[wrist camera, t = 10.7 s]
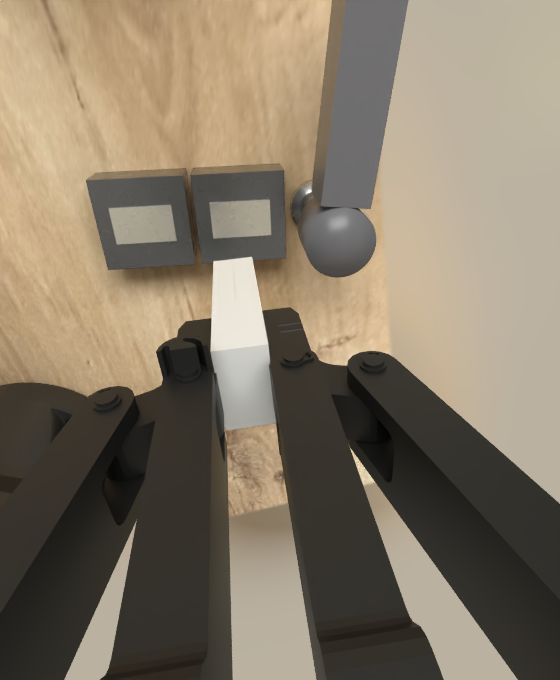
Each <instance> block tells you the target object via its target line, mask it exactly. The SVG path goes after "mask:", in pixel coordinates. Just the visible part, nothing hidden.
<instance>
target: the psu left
mask: <svg viewBox="0 0 560 680" xmlns="http://www.w3.org/2000/svg"><path fill="white" fill-rule="evenodd" d="M86 183H87V187H88V191H89V195H90V199H91V203H92V207H93V211H94V215H95V219H96V223H97V227H98V231H99V235H100V239H101V243H102V247H103V251H104V255H105V259H106V263H107V267H108V270H115V269H130V268H146V267H161V266H176V265H191V264H195V261H196V255H197V249H196V241H195V234H194V226H193V219H192V211H191V204H190V197H189V189H188V182H187V174H186V168H182V169H162V170H142V171H122V172H102V173H95V174H94V175H92V176H91V177H90V178H88V179H87V180H86Z"/></svg>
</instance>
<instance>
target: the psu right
mask: <svg viewBox="0 0 560 680" xmlns="http://www.w3.org/2000/svg"><path fill="white" fill-rule="evenodd" d="M190 176H191V184H192V191H193V199H194V207H195V214H196V222H197V230H198V237H199V245H200V253H201V260H202V264H206V263H213V261H221V260H229V259H238V258H246V257H252V259H253V260H267V259H282V258H286V239H285V198H284V170H283V168H282V166H281V165H280V164H262V165H242V166H222V167H202V168H193V169H192V172H191V175H190Z"/></svg>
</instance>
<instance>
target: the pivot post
mask: <svg viewBox="0 0 560 680" xmlns="http://www.w3.org/2000/svg"><path fill="white" fill-rule="evenodd" d="M312 181H313V180H311V181H307V182H305V183H303V184H302V185H301V186H299V187H298V188H297V190H296V191H295V193H294V194H293V197H292V200H291V213H292V216H293V218H294V220H295V222H296V223H297V224H298V220H299V217H300V214H301V212H302V210H303V209H304V207H305V206H306V205H307V204H308V203H309V202H310V201H311V200H313V199H314V196H313V195H312V193H311V190H312Z"/></svg>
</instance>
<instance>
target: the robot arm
mask: <svg viewBox="0 0 560 680" xmlns="http://www.w3.org/2000/svg"><path fill="white" fill-rule="evenodd" d="M156 353H157V357H158V361H159V365H160V368H161V372H162V376H163V381H162V385H161V386H159V387H158V388H156V389H154V390H151V391H149V392H146V393H143V394H140V395H137V396H134V394H133V391H132V390H130V389H129V388H127V387H121V386H115V387H108V388H105V389H101V390H99V391H97V392H95V393H93V394H92V395H90V396H89V397H88V398H87V397H86V396H83V395H81V394H79V393H77V392H74V391H72V390H69V389H66V388H62V387H58V386H54V385H48V384H41V383H14V384H7V385H2V386H0V680H64V679H65V677H66V674H67V672H68V670H69V668H70V666H71V663H72V661H73V659H74V657H75V655H76V652H77V650H78V648H79V646H80V643H81V641H82V639H83V637H84V634H85V632H86V630H87V628H88V626H89V624H90V621H91V619H92V617H93V615H94V612H95V610H96V608H97V606H98V604H99V602H100V599H101V597H102V595H103V593H104V591H105V588H106V586H107V584H108V582H109V580H110V577H111V575H112V573H113V570H114V568H115V566H116V564H117V562H118V560H119V557H120V555H121V553H122V551H123V549H124V546H125V544H126V542H127V540H128V538H129V535H130V533H131V531H132V529H133V526H134V524H135V522H136V520H137V523H136V528H135V533H134V538H133V544H132V549H131V555H130V560H129V565H128V571H127V577H126V582H125V587H124V592H123V598H122V603H121V609H120V614H119V620H118V625H117V631H116V636H115V641H114V647H113V652H112V657H111V661H110V665H109V669H108V671H107V673H106V675H105V676H104V677H103V678H101V679H100V680H232V638H231V597H230V557H229V556H230V555H229V513H228V472H227V442H226V437H225V432H224V424H225V430H226V431H227V430H234V429H241V428H248V427H255V426H262V425H269V424H276V425H277V434H278V443H279V452H280V455H281V460H282V466H283V472H284V479H285V485H286V491H287V497H288V504H289V509H290V516H291V522H292V529H293V535H294V541H295V547H296V554H297V560H298V566H299V572H300V578H301V585H302V591H303V597H304V603H305V609H306V616H307V622H308V628H309V635H310V641H311V647H312V653H313V660H314V666H315V672H316V679H317V680H444V679H443V677H442V674H441V671H440V669H439V666H438V663H437V661H436V658H435V655H434V653H433V651H432V648H431V646H430V643H429V641H428V639H427V636H426V635H425V633H424V632H423V630H422V629H421V627H420V626H419V625H417V624H416V623H414V622H413V621H412V620H411V618H410V616H409V614H408V612H407V609H406V607H405V604H404V601H403V598H402V595H401V592H400V589H399V587H398V584H397V581H396V578H395V575H394V572H393V569H392V567H391V564H390V561H389V558H388V555H387V552H386V550H385V547H384V544H383V541H382V538H381V535H380V532H379V530H378V527H377V524H376V521H375V518H374V516H373V513H372V510H371V507H370V504H369V501H368V498H367V495H366V493H365V490H364V487H363V484H362V481H361V478H360V476H359V473H358V470H357V467H356V464H355V461H354V458H353V456H352V453H351V450H350V448H351V449H352V450H353V452H354V453H355V455H356V456H357V457H358V459H359V460H360V462H361V463H362V464H363V466H364V467H365V468H366V470H367V471H368V473H369V474H370V475H371V477H372V478H373V480H374V481H375V482H376V484H377V485H378V486H379V488H380V489H381V491H382V492H383V493H384V495H385V496H386V498H387V499H388V500H389V502H390V503H391V504H392V506H393V507H394V509H395V510H396V511H397V513H398V514H399V516H400V517H401V518H402V520H403V521H404V522H405V524H406V525H407V527H408V528H409V529H410V531H411V532H412V534H413V535H414V536H415V538H416V539H417V540H418V542H419V543H420V544H421V546H422V547H423V549H424V550H425V552H426V553H427V554H428V556H429V557H430V558H431V560H432V561H433V563H434V564H435V565H436V567H437V568H438V569H439V571H440V572H441V574H442V575H443V576H444V578H445V579H446V581H447V582H448V583H449V585H450V586H451V587H452V589H453V590H454V592H455V593H456V594H457V596H458V597H459V599H460V600H461V601H462V603H463V604H464V606H465V607H466V608H467V610H468V611H469V612H470V614H471V615H472V617H473V618H474V619H475V621H476V622H477V623H478V625H479V626H480V628H481V629H482V630H483V632H484V633H485V635H486V636H487V637H488V639H489V640H490V642H491V643H492V644H493V646H494V647H495V648H496V650H497V651H498V653H499V654H500V655H501V657H502V658H503V660H504V661H505V662H506V664H507V665H508V666H509V668H510V669H511V671H512V672H513V673H514V675H515V676H516V678H517V679H518V680H560V504H559V503H558V502H557V501H556V500H555V499H554V498H553V497H551V496H550V495H549V494H548V493H547V492H546V491H545V490H543V489H542V488H541V487H540V486H539V485H538V484H537V483H536V482H534V481H533V480H532V479H531V478H530V477H529V476H528V475H526V474H525V473H524V472H523V471H522V470H521V469H520V468H519V467H517V466H516V465H515V464H514V463H513V462H512V461H511V460H509V459H508V458H507V457H506V456H505V455H504V454H503V453H502V452H500V451H499V450H498V449H497V448H496V447H495V446H494V445H493V444H491V443H490V442H489V441H488V440H487V439H486V438H484V437H483V436H482V435H481V434H480V433H479V432H478V431H477V430H476V429H474V428H473V427H472V426H471V425H470V424H469V423H468V422H466V421H465V420H464V419H463V418H462V417H461V416H460V415H459V414H457V413H456V412H455V411H454V410H453V409H452V408H450V406H448V405H447V404H446V403H445V402H444V401H443V400H442V399H440V398H439V397H438V396H437V395H436V394H435V393H434V392H433V391H431V390H430V389H429V388H428V387H427V386H426V385H425V384H423V383H422V382H421V381H420V380H419V379H418V378H417V377H415V376H414V375H413V374H412V373H411V372H410V371H409V370H408V369H406V368H405V367H404V366H403V365H402V364H401V363H400V362H399V361H397V360H396V359H395V358H394V357H392V356H390V355H389V354H386V353H382V352H377V351H367V352H361V353H358V354H356V355H354V356H352V357H351V358H350V359H349V360H348V365H347V366H340V365H331V364H327V363H324V362H321V361H319V359H318V357H317V355H316V354H315V353H314V352H313V351H311V349H310V346H309V343H308V340H307V338H306V335H305V332H304V330H303V326H302V323H301V320H300V317H299V314H298V313H297V312H296V311H294V310H293V309H292V308H290V307H289V308H281V309H273V310H265V311H262V308H261V302H260V297H259V291H258V286H257V281H256V275H255V270H254V265H253V259H252V257H246V258H238V259H229V260H221V261H213V291H212V318H210V319H202V320H194V321H186V322H185V323H184V324H183V325H182V326H181V327H180V329H179V330H178V335H177V337H176V338H173V339H171V340H168V341H166V342H165V343H163V344H162V345H161V346H159V348H158V350H157V351H156ZM349 446H350V447H349Z"/></svg>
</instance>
